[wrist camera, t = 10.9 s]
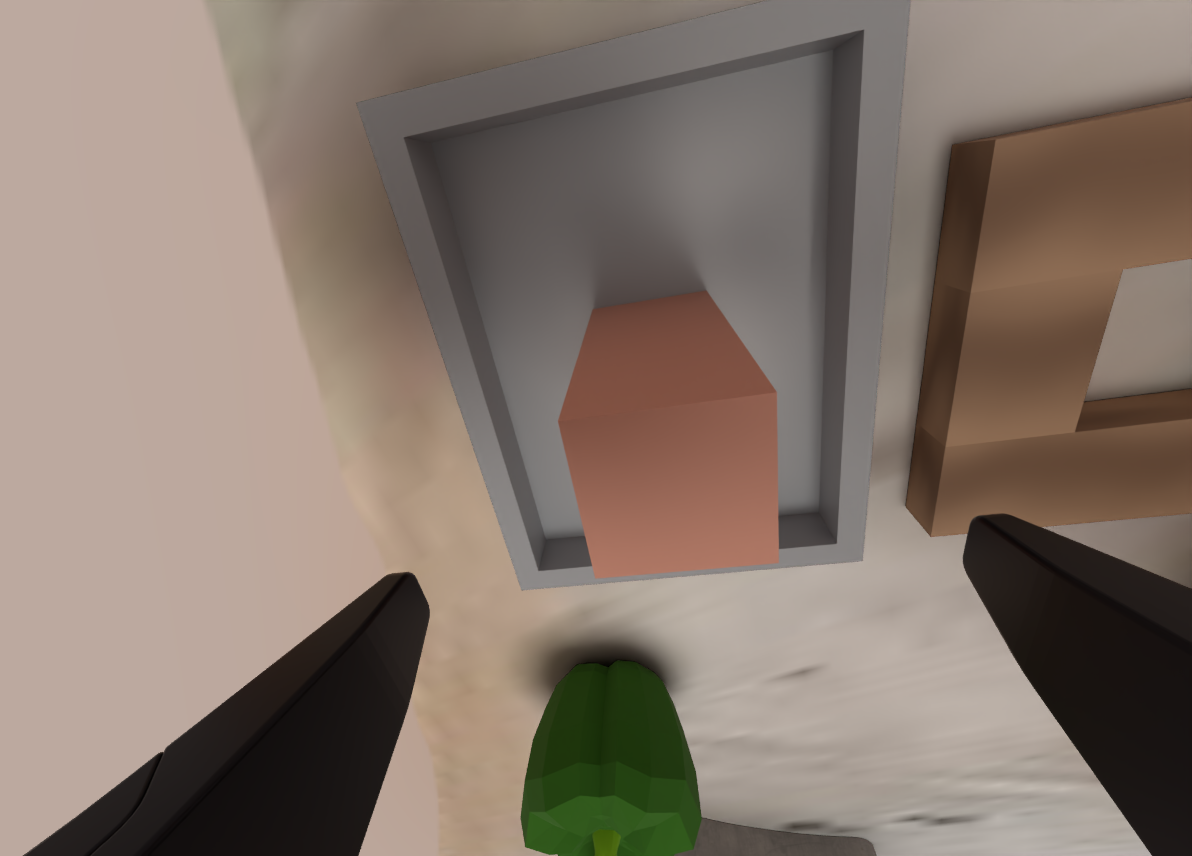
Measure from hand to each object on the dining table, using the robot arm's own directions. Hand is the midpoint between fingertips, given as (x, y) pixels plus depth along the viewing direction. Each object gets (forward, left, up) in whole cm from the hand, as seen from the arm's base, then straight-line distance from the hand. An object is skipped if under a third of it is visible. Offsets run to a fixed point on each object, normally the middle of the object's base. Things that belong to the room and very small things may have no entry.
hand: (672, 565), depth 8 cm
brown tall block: (0, 0, -11) cm, 11 cm away
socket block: (-2, -17, -12) cm, 21 cm away
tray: (0, 0, -12) cm, 12 cm away
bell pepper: (-20, +5, -12) cm, 24 cm away
